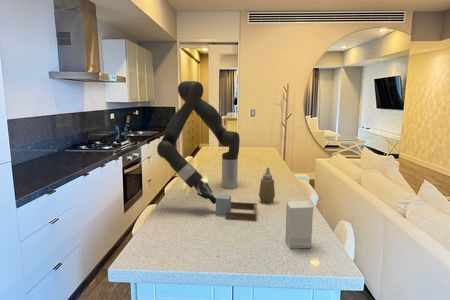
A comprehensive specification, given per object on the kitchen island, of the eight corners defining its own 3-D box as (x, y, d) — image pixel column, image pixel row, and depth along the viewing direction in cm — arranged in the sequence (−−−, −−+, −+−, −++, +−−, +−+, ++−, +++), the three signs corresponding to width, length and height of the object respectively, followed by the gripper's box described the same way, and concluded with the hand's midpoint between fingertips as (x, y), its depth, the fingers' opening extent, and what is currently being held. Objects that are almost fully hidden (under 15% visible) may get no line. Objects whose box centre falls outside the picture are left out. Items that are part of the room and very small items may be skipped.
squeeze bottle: (262, 205, 148) (263, 170, 145) (256, 200, 156) (257, 166, 153) (277, 204, 151) (278, 169, 147) (270, 199, 158) (272, 165, 155)
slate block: (218, 210, 141) (218, 194, 140) (230, 211, 140) (231, 194, 139) (215, 215, 135) (215, 198, 134) (228, 216, 134) (229, 199, 133)
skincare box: (306, 240, 112) (308, 200, 110) (311, 249, 106) (314, 207, 103) (284, 240, 112) (286, 200, 109) (288, 249, 106) (290, 207, 103)
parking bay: (229, 207, 145) (229, 201, 144) (256, 209, 143) (256, 203, 143) (225, 219, 131) (225, 212, 131) (255, 221, 129) (255, 214, 129)
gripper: (191, 173, 130) (219, 202, 131) (198, 166, 143) (223, 192, 144) (180, 184, 132) (207, 212, 132) (188, 177, 145) (212, 202, 145)
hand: (215, 202), depth 138 cm, fingers closed
